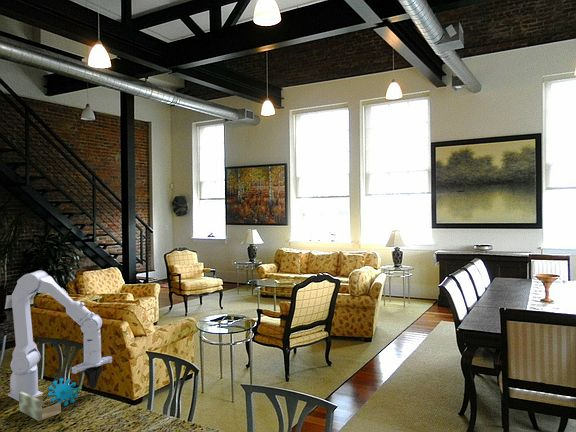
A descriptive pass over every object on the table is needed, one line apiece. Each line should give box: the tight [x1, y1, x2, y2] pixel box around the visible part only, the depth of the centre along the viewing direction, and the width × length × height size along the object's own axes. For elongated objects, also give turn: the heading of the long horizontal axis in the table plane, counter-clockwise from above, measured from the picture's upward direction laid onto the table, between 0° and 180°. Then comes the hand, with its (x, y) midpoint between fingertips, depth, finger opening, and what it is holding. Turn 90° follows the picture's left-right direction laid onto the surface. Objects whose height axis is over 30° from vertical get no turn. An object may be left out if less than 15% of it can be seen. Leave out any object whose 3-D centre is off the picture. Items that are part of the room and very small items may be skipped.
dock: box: [18, 392, 62, 422], centre depth 149 cm, size 13×7×6 cm, turn 54°
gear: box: [47, 377, 83, 407], centre depth 157 cm, size 11×6×10 cm
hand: (92, 387), depth 164 cm, fingers closed
